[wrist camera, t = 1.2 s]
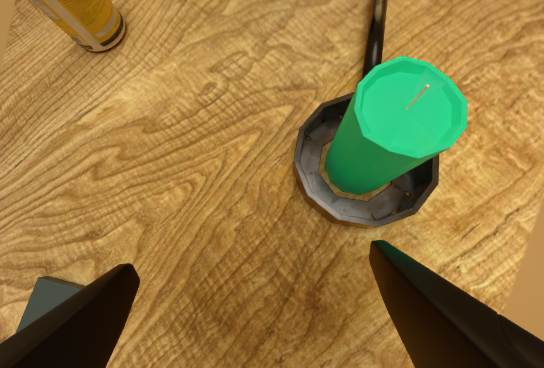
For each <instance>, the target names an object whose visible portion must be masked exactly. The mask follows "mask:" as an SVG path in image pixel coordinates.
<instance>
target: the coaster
mask: <svg viewBox="0 0 544 368" xmlns="http://www.w3.org/2000/svg"><path fill="white" fill-rule="evenodd" d="M84 287H85V286H82V285H78V284H74V283H70V282H67V281H63V280H59V279H55V278H51V277H48V276H45V277H39V278H38V279H37V282H36V284H35V287H34V289H33V292H32V294H31V297H30V299H29V302H28V304H27V306H26V309H25V311H24V314H23V316H22V319H21V321H20V324H19V326H18V329H17V331H16V333H17V332H19V331H20V330H22V329H23V328H25V327H26V326H28V325H29V324H31V323H32V322H34V321H35V320H37V319H38V318H39V317H41V316H42V315H44V314H45V313H47V312H48V311H50V310H51V309H53V308H54V307H56V306H57V305H59V304H60V303H62V302H63V301H65V300H66V299H68V298H69V297H71V296H72V295H74V294H75V293H77V292H78V291H80V290H81V289H83V288H84Z"/></svg>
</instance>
